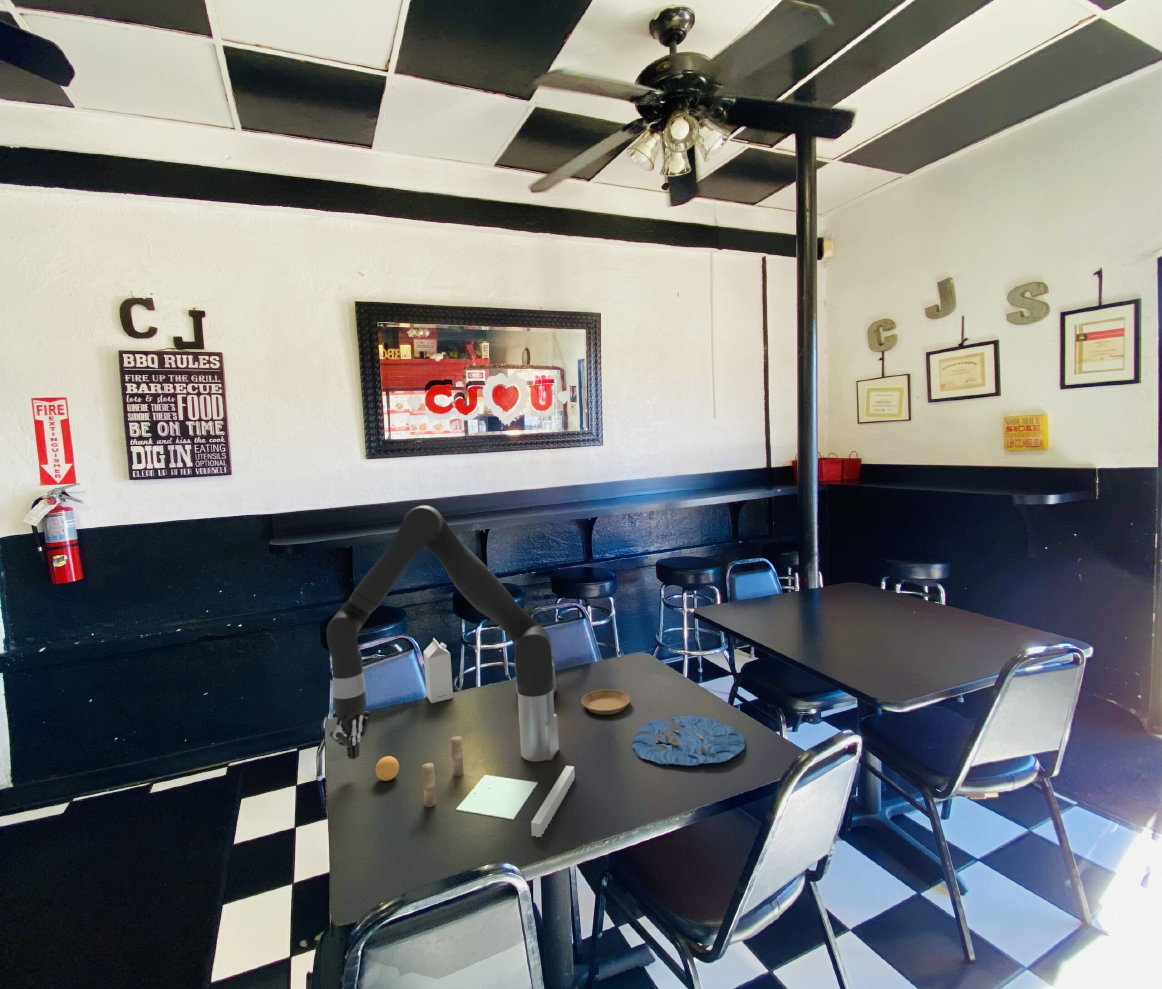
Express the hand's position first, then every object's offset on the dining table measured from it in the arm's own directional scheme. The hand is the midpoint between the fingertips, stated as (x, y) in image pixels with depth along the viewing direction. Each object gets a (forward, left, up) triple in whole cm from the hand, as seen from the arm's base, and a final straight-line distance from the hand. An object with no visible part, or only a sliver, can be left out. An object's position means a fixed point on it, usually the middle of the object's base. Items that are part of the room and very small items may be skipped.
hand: (353, 757), depth 147 cm
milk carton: (+3, -45, -5) cm, 45 cm away
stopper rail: (-54, 0, -4) cm, 54 cm away
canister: (-27, -55, -5) cm, 61 cm away
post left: (-26, +6, -4) cm, 27 cm away
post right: (-26, -6, -4) cm, 27 cm away
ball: (-10, 0, -2) cm, 10 cm away
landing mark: (-40, 0, -4) cm, 40 cm away
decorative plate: (-78, -34, -5) cm, 86 cm away
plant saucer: (-52, -50, -5) cm, 72 cm away
